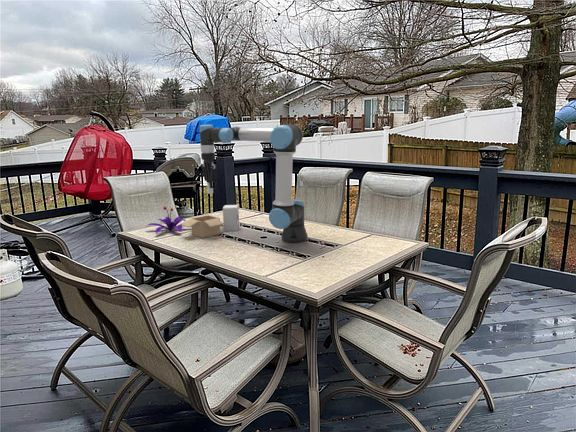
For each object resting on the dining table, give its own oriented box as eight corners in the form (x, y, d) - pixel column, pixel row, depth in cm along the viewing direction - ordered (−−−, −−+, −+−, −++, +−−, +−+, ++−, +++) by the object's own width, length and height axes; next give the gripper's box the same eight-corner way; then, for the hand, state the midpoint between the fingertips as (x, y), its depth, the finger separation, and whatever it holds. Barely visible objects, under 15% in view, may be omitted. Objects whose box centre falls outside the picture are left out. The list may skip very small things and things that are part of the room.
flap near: (217, 218, 252) (223, 224, 248) (204, 221, 247) (210, 227, 242) (217, 218, 252) (223, 223, 248) (204, 220, 246) (210, 226, 242)
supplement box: (237, 231, 263) (236, 207, 260) (223, 231, 263) (222, 207, 260) (239, 227, 272) (238, 204, 268) (226, 227, 272) (224, 204, 269)
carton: (226, 233, 259) (225, 217, 256) (202, 238, 248) (201, 222, 246) (211, 228, 271) (210, 212, 269) (188, 233, 260) (187, 217, 258)
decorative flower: (184, 222, 288) (182, 200, 284) (201, 232, 262) (200, 208, 259) (142, 228, 273) (140, 206, 269) (156, 239, 247) (154, 215, 244)
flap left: (198, 220, 247) (188, 226, 243) (198, 221, 247) (189, 227, 243) (191, 218, 253) (181, 224, 250) (191, 219, 254) (181, 224, 250)
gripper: (219, 152, 237) (222, 193, 242) (207, 151, 247) (210, 191, 252) (208, 153, 232) (210, 195, 238) (196, 152, 242) (199, 192, 247)
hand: (210, 193), depth 245 cm, fingers closed
